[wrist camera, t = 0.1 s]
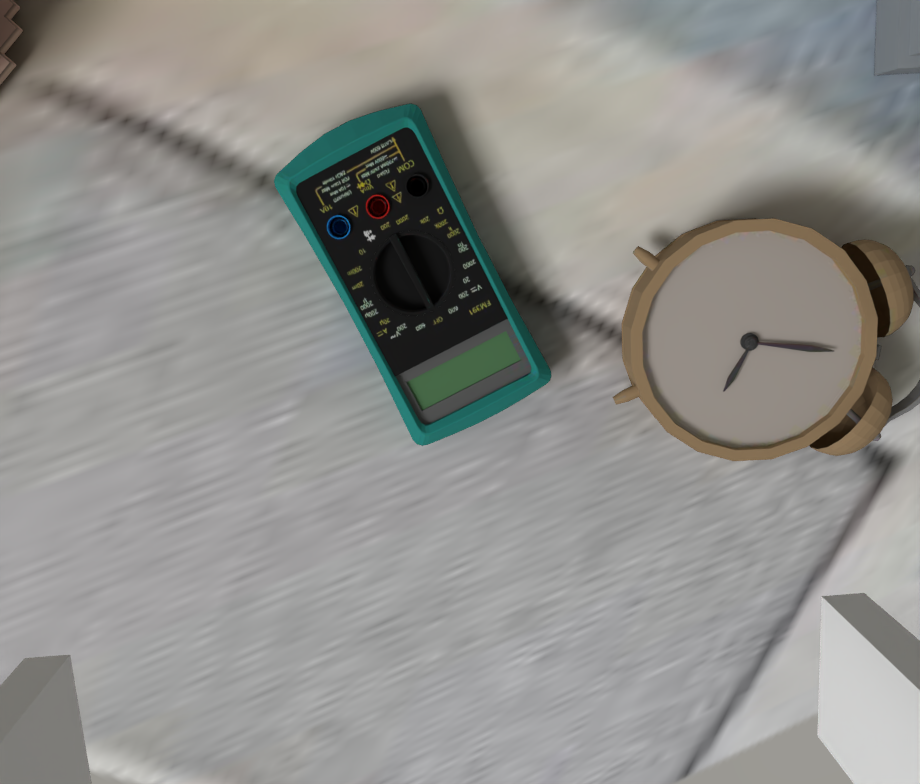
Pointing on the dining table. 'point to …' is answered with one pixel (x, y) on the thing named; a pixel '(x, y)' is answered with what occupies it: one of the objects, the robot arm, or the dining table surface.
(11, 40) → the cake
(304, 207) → the digital multimeter
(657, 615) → the dining table surface
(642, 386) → the alarm clock
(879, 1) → the panel
